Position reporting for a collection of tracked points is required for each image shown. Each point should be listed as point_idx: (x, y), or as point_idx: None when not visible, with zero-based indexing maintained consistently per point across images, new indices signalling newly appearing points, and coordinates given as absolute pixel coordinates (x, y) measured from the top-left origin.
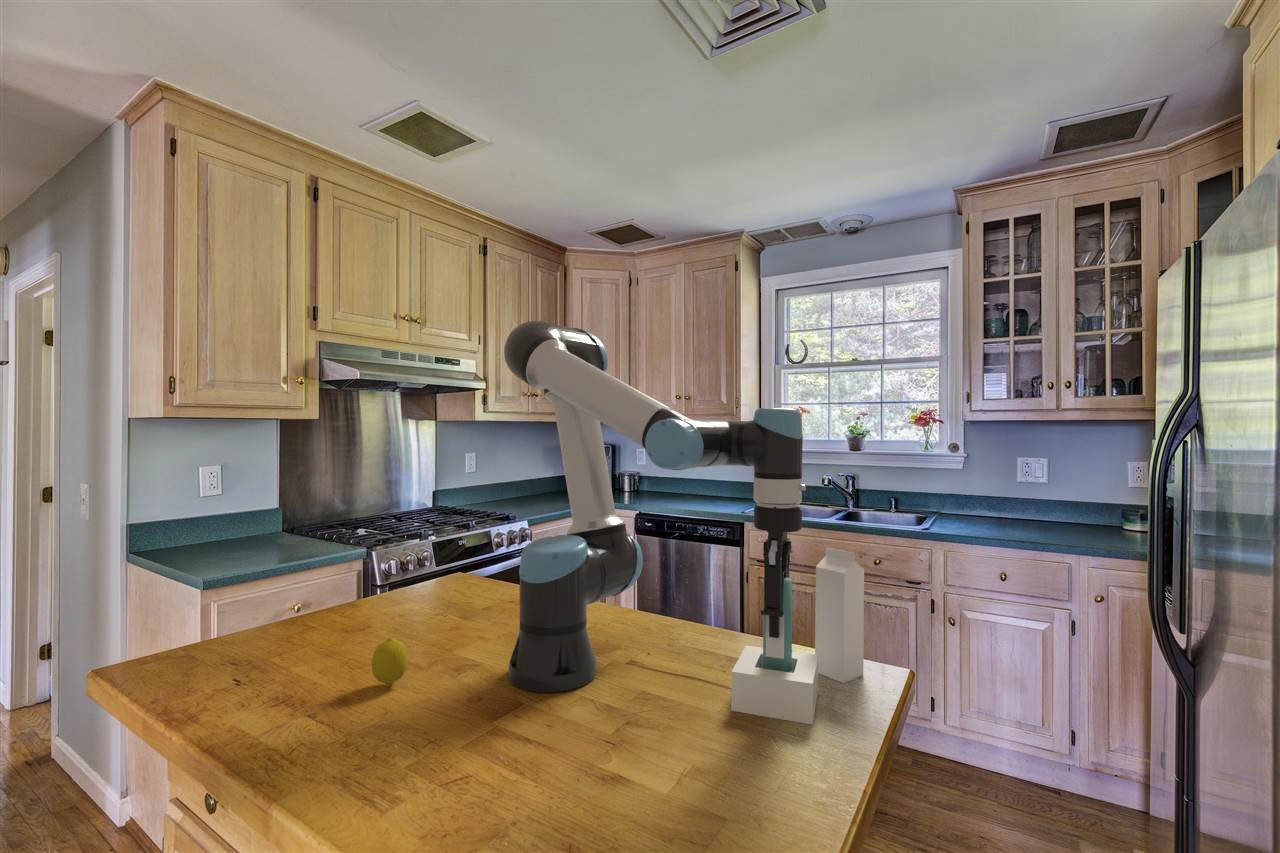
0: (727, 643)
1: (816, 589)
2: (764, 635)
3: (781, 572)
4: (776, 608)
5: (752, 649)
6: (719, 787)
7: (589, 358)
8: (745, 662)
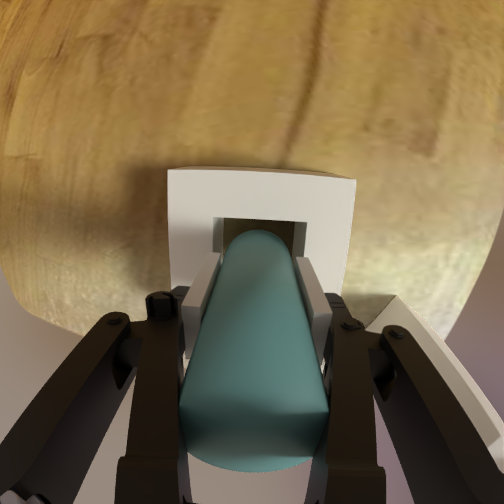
0: (483, 135)
1: (471, 396)
2: (232, 262)
3: (79, 484)
4: (111, 363)
5: (332, 199)
6: (23, 201)
7: None
8: (235, 191)
